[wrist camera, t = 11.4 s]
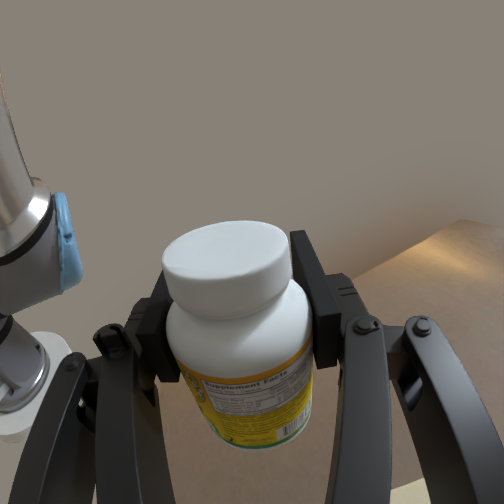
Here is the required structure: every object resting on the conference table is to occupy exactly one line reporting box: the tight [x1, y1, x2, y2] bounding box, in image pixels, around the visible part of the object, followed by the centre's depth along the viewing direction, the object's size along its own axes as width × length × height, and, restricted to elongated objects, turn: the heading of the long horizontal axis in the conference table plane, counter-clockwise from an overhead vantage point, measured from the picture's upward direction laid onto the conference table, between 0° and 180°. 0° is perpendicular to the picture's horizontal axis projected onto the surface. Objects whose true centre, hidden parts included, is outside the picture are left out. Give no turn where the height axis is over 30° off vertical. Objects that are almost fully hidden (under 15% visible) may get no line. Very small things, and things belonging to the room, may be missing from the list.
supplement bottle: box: [161, 221, 313, 452], centre depth 11 cm, size 5×5×10 cm
